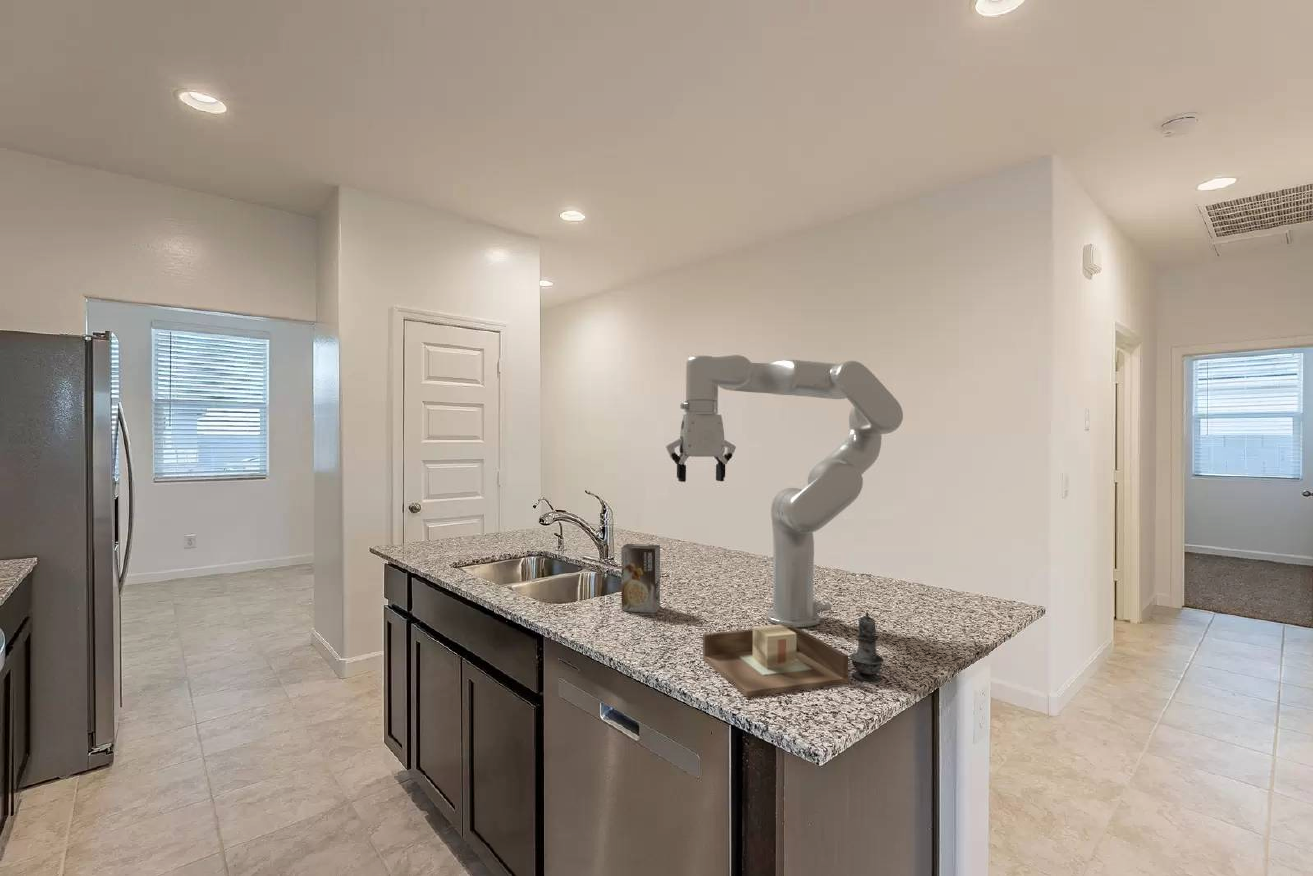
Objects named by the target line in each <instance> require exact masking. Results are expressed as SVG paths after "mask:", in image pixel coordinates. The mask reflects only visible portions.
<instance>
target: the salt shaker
mask: <svg viewBox="0 0 1313 876" xmlns="http://www.w3.org/2000/svg"><path fill="white" fill-rule="evenodd" d="M856 638H857V639H858V640H857V641H858V644H857V645H858V646H857V647H858V648H857V651H856V652H855V653H852V654H850V656H849V659H851V664H852V666H853V668H854V669H855V670H856V671H854V672H853V673H851V678H852V679H853V680H855V681H857V682H860V683H864V682H867V683H866V684H878V683H877V682H879V683H881V682H882V681H883V677H881V676H880V675H879V671H880V670H881V669H882V667H883V663H884V662H885V659H884V658H883V657H882V656H880V655H878V654H877V650H876V647H877V644H876V643H877V642H876V641H877V640H878V636H876V620H875V619H874V618H873V617H871V616H870V614H869V612H868V611H866V613H865V615H864V616H862V617H860V618H859V620H858V634H857V635H856Z"/></svg>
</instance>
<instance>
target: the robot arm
mask: <svg viewBox="0 0 1313 876" xmlns="http://www.w3.org/2000/svg"><path fill="white" fill-rule="evenodd" d="M685 364H686V367H685V369H686V370H685V374H686V375H685V381H686V382H685V394H686V395H685V401H684V403H683V402H681V404H680V409H681V410H684V412H685V413H684V414H683V415H682V420H681V425H680V431H679V432H680V434H679V438H678V439H676V440H673V442H671V443H669V444H667V445H666V446H665V447H666V451H667V453H668V454H669V457H670V458H671V459H672V461H673V462H674V463H675V464H676V478H677V481H678V482H680V483H681V482H682V483H685V482H686V481H687V465H686V464H685V462H686V461H687V459H689V457H692V458H693V457H694V458H695V457H701V458H703V457H704V458H705V457H707V458H708V457H709V458H710V457H711V458H712V457H714V459H715V460H716V462H717V463H716V465H715V480H716V481H717V482H724V481H725V478H726V465H727V464H728V462H729V461H730V460H731V459H732V458H733V454H734V453H735V450H736V448H737V447H736V445H735V444H732V443H731V442H729V441H727V440H726V439H725V429H724V423H723V418H722V414H719V413H718V412H719V410H718V409H719V405H718V404H719V388H721V389H722V390H726V391H731V392H733V391H734V392H742V393H753V394H754V393H755V394H757V393H758V394H769V395H770V394H772V395H781V396H796V397H810V398H818V399H829V400H830V399H832V400H843V399H847V400H848V401H849V402H850V404H851V405H852V408H851V409H850V412H849V416H848V418H849V419H848V422H849V431H848V436H847V438H846V439H845V440H844V442H842V443H841V444H840V445H839V446H838V447H837V448H836V449H834V451H832V452H831V453H830V454H829V455H827V456H826V457H825V458H824V459H823V460H822V461H820V462H818V463H817V464H816V465H815V466H813V468H812V469H811V470H810V472H809V473H808V475H807V485H806V487H804V488H803V489H802V488H798V487H797V488H796V487H787V488H784V489H782V490H780V491H779V492H777V494H776V495H775V496H774V497H773V500H772V503H771V509H770V510H771V512H770V516H771V527H772V535H773V537H772V538H773V539H772V541H773V551H772V552H773V555H772V556H773V557H772V559H773V563H772V567H773V568H772V609H771V610H769V611H767V612H766V615H765V617H766V620H767V621H768V622H770V623H772V624H773V625H782V626H790V625H793V626H795V627H797V628H807V627H814V626H817V625H818V624H820V622H821V617H820V615H819V613H820V612H828V611H829V612H830V611H832V604H831V603H830V602H822V603H821V602H820V601H816V600H814V595H815V593H814V591H815V590H814V588H815V587H814V585H815V582H814V581H815V580H814V574H815V572H814V571H815V569H814V568H815V567H814V565H815V562H814V561H815V560H814V559H815V558H814V556H815V543H814V541H815V540H814V539H815V538H814V534H813V533H815V532H817V531H819V530H821V529H822V528H824V527H825V526H826V525H828V523H830V522H831V521H832V520H834V519H835V518H836V517H837V516H839V514H841V513H842V512H843V511H845V510H846V509H847V507H849V506H850V505H851V504H852V503H853V502H855V501H856V499H857V498H858V497H859V495H860V494H861V491H862V489H863V484H864V481H863V474H865V473H866V471H867V470H869V469H870V468H871V467H872V465H874V463H875V462H876V460H877V459H878V457H879V455H880V452H881V448H882V437H883V435H888V434H891V433H893V432H895V431H896V430H898V429H899V427H900V426H901V424H902V422H903V418H904V411H903V408H902V406H901V404H900V403H899V401H898V400H897V398H895V397H894V396H893V394H892V393H891V392H890V391H889V390H888V389H887V387H886V386H885V385H883V383H882V382H881V381H880V380H879V379H878V378H877V377H876V376H875V374H873V372H872V371H871V370H870V369H869V368H868V367H867V366H865V365H864V364H862V363H861V362H859V361H856V360H847V361H844V362H841V363H832V362H830V363H829V362H821V361H820V362H819V361H810V360H798V359H786V360H785V359H784V360H779V361H774V362H751V361H750V360H749V358H747V357H746V356H743V355H739V354H731V355H724V356H722V355H721V356H711V355H694V356H690V357H688V358H687V361H686V363H685ZM677 447H679V448H678V449H679V455H678V454H677V453H676V450H675V449H676V448H677ZM726 449H727V450H726ZM725 452H726V453H725Z"/></svg>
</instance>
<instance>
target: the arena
mask: <svg viewBox="0 0 1313 876" xmlns="http://www.w3.org/2000/svg"><path fill="white" fill-rule="evenodd" d="M784 627H786V628H788V629H789V630H791V631H793V632H794V633H796V666H791V667H783V668H774V669H766V668H765V667H764V666H762V665H761V664H760V663H758V662H757V661H755V660H754V659H753V628H750V629H742V630H731V631H730V630H729V631H721V632H719V631H718V632H710V633H709V632H708V633H703V634H702V660H703V661H704V662H705V663H706V664H708V665H709V667H711V668H712V669H713V668H714V669H715V670H714V669H713V670H714V671H715V672H716V673H717V674H719V675H720V674H721V675H720V676H721V677H722V678H724V679H725V680H726V682H728V683H729V682H730V683H731V684H730V683H729V684H730V685H732V686H733V687H734V688H735V687H736V688H737V689H736V688H735V689H736V690H737V691H739V692H740V694H742V695H743V696H744V697H745V696H746V697H745V698H752V696H754V697H759V696H768V695H775V694H783V693H790V692H797V691H805V690H811V689H819V688H827V687H834V686H841V685H848V684H849V655H848V654H847V653H845V652H843V651H841V650H839V649H837V648H835V647H834V646H831V645H830V644H829V643H827V642H825V641H822V640H821V639H819V638H817V637H815V636H814V635H811V634H810V633H808V632H806V631H804V630H803V629H800V627H795V626H793V625H790V626H784Z"/></svg>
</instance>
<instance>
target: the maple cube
mask: <svg viewBox="0 0 1313 876" xmlns="http://www.w3.org/2000/svg"><path fill="white" fill-rule="evenodd" d="M752 629H753V659H754V660H755V661H757V662H758V663H760V664H761V665H762V666H764V667H765V668H766V669H774V668H783V667H791V666H796V633H794V632H793V631H791V630H789V629H788V628H786V627H784V626H782V625H777V624H772V625H762V626H761V625H760V626H752Z"/></svg>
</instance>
